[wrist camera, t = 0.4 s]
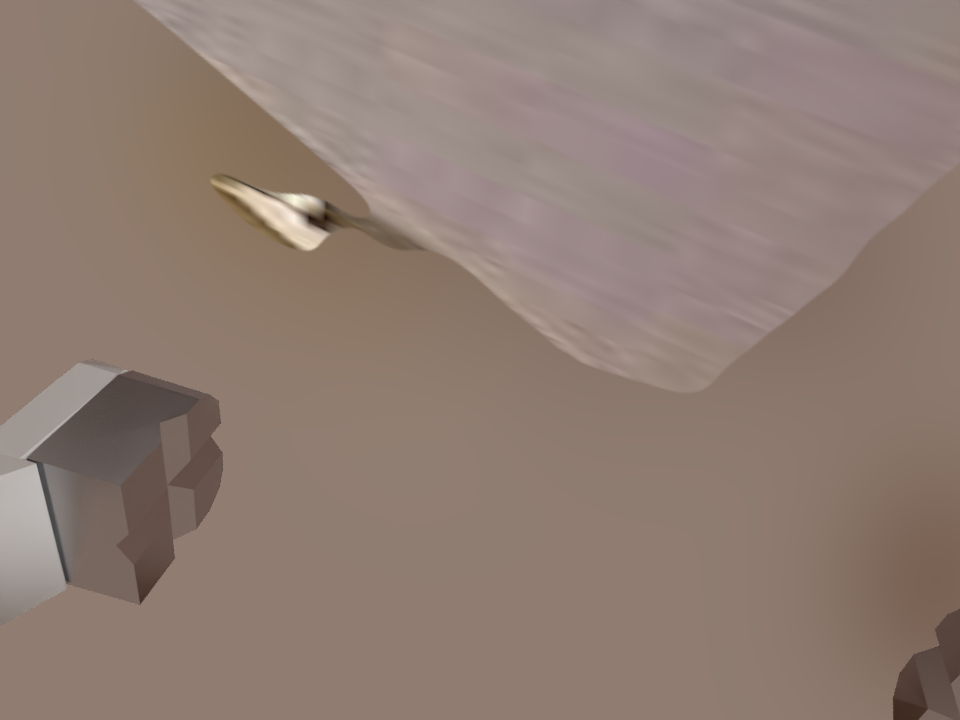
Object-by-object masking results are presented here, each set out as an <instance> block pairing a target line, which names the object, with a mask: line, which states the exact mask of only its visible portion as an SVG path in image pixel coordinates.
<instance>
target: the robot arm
mask: <svg viewBox="0 0 960 720" xmlns="http://www.w3.org/2000/svg"><path fill="white" fill-rule="evenodd" d="M220 424H221V419H220V409H219V401H218V400H217V399H215V398H214V397H213V396H211V395H209V394H206V393H203V392H199V391H196V390H193V389H190V388H187V387H184V386H180V385H177V384H174V383H171V382H168V381H164V380H161V379H158V378H154V377H151V376H148V375H145V374H142V373H139V372H135V371H129V370H125V369H122V368H119V367H116V366H113V365H109V364H107V363H104V362H100V361H97V360H94V359H91V360H86V361H82V362H78V363H77V364H75V365H74V366H73V367H72V368H70V369H69V370H68V371H67V372H65V373H64V374H63V375H62V376H61V377H59V378H58V379H57V380H56V381H54V382H53V383H52V384H51V385H50V386H49V387H47V388H46V389H45V390H44V391H42V392H41V393H40V394H39V395H37V396H36V397H35V398H34V399H32V400H31V401H30V402H29V403H28V404H27V405H25V406H24V407H23V408H21V409H20V410H19V411H18V412H17V413H15V414H14V415H13V416H12V417H10V418H9V419H8V420H7V421H5V422H4V423H3V424H2V425H1V426H0V626H1V625H3V624H5V623H7V622H8V621H10V620H12V619H14V618H16V617H17V616H19V615H21V614H23V613H24V612H26V611H28V610H30V609H32V608H33V607H35V606H37V605H39V604H40V603H42V602H44V601H46V600H48V599H49V598H51V597H53V596H55V595H56V594H58V593H60V592H62V591H63V590H65V589H66V588H67V584H69V585H73V586H76V587H80V588H83V589H87V590H90V591H94V592H97V593H101V594H104V595H108V596H111V597H114V598H118V599H121V600H125V601H129V602H132V603H135V604H139V605H140V604H141V603H142V602H143V600H144V599H145V597H146V596H147V595H148V594H149V592H150V591H151V589H152V588H153V587H154V586H155V584H156V583H157V581H158V580H159V579H160V577H161V576H162V575H163V573H164V572H165V571H166V569H167V568H168V567H169V565H170V564H171V563H172V561H173V560H174V559H175V555H174V546H173V539H175V538H177V537H180V536H182V535H184V534H186V533H189V532H191V531H193V530H195V529H197V528H198V526H199V525H200V523H201V522H202V520H203V519H204V518H205V516H206V515H207V513H208V512H209V511H210V509H211V506H212V504H213V502H214V499H215V497H216V494H217V492H218V490H219V487H220V482H221V477H222V471H223V453H222V451H221V450H220V448H219V447H218V445H217V444H216V443H215V441H214V440H213V439H212V437H211V435H212V434H213V432H214V431H215V430H216V428H217V427H218V426H219V425H220ZM935 632H936V635H937V638H938V643H939V646H938V647H934V648H931V649H928V650H925V651H922V652H919V653H916V654H914V655H913V656H912V657H911V659H910V660H909V661H908V663H907V664H906V665H905V667H904V668H903V669H902V671H901V672H900V674H899V677H898V681H897V685H896V688H895V692H894V696H893V720H960V609H958V610H956V611H954V612H951V613H949V614H947V615H946V617H945V618H944V619H943V620H942V621H941V622H940V624H939V625H938V626H937V627H936V628H935Z"/></svg>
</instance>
